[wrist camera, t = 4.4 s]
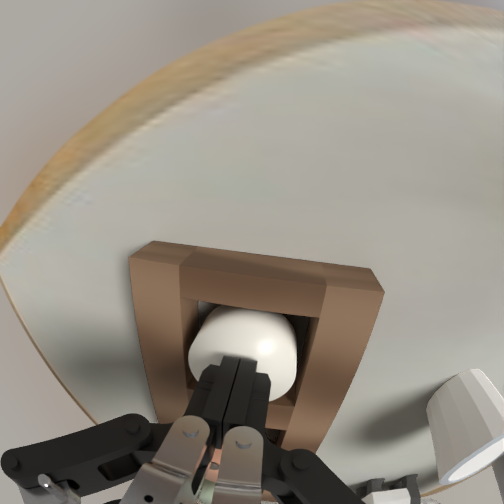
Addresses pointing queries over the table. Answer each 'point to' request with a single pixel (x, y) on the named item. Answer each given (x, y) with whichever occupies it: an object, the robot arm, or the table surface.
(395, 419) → the table surface
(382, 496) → the giant panda
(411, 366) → the table surface
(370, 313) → the button board
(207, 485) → the button two
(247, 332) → the button one
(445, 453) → the white tapered cylinder
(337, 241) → the table surface
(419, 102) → the table surface
